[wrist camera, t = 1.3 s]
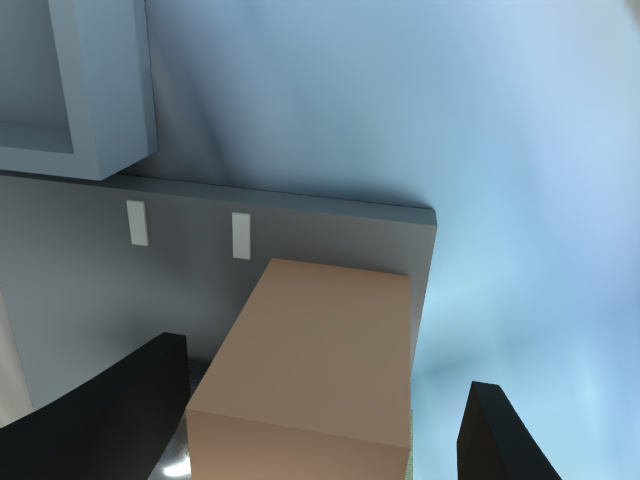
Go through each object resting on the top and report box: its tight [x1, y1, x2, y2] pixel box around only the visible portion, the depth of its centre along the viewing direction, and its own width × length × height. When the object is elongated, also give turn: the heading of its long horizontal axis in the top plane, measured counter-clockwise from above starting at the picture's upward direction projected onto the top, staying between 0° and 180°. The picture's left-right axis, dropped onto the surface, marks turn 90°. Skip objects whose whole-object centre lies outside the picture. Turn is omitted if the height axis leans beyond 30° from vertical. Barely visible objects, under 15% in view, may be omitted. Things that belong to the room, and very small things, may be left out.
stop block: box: [185, 258, 410, 480], centre depth 12 cm, size 4×4×6 cm
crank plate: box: [0, 169, 437, 411], centre depth 17 cm, size 14×14×1 cm
